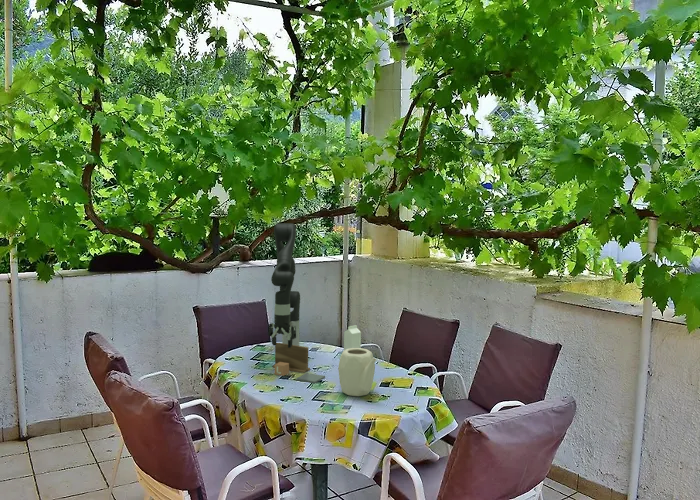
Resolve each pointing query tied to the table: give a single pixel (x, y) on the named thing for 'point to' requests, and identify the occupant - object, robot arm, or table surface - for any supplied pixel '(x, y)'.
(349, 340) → the milk
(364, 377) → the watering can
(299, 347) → the walnut screen
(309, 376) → the slate pad
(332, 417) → the table surface
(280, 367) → the letter cube
